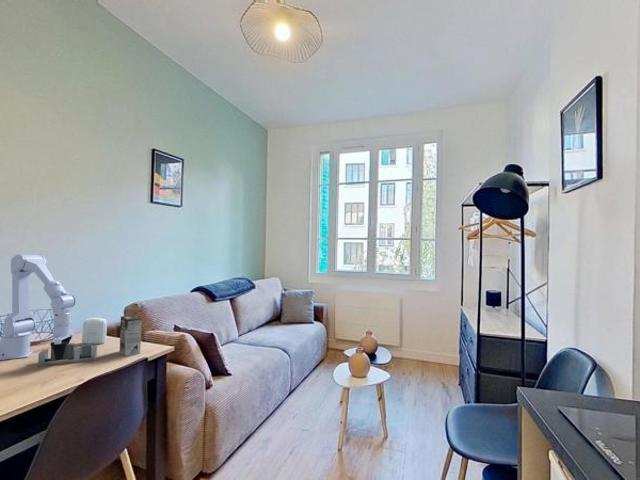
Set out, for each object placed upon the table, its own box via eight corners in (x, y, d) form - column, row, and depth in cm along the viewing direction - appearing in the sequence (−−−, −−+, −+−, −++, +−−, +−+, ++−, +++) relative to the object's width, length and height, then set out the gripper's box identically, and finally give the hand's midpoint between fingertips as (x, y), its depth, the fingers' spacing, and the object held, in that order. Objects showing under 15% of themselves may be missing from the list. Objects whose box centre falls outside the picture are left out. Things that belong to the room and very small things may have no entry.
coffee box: (118, 351, 152) (120, 316, 153) (134, 348, 157) (135, 314, 157) (124, 356, 146) (126, 319, 146) (140, 353, 151) (142, 317, 151)
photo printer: (107, 341, 166) (108, 317, 166) (103, 344, 162) (104, 318, 162) (85, 341, 165) (86, 317, 165) (80, 344, 161) (81, 318, 161)
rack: (37, 366, 132) (38, 351, 132) (41, 361, 136) (42, 347, 137) (95, 360, 140) (95, 345, 141) (96, 356, 145) (97, 342, 145)
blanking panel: (50, 364, 135) (51, 346, 135) (51, 362, 137) (52, 345, 137) (73, 361, 138) (73, 344, 138) (74, 359, 140) (74, 343, 140)
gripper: (70, 327, 133) (69, 361, 133) (77, 319, 146) (76, 350, 146) (48, 328, 130) (46, 363, 129) (57, 320, 142) (55, 352, 142)
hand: (60, 356), depth 137 cm, fingers open, 5 cm apart
